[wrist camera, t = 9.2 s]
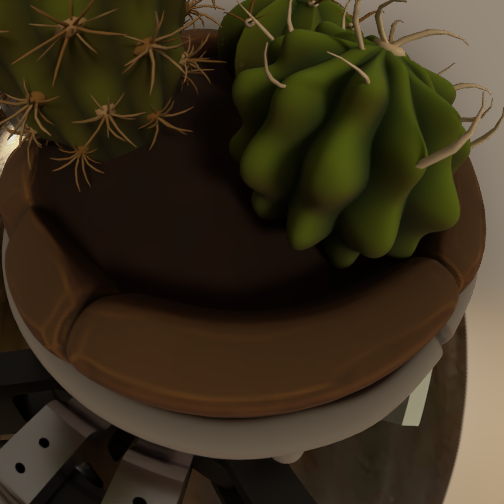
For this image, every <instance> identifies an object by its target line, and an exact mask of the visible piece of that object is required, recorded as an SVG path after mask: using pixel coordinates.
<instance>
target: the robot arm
mask: <svg viewBox="0 0 504 504" xmlns="http://www.w3.org/2000/svg"><path fill="white" fill-rule="evenodd" d="M0 92H1V91H0ZM1 95H2V94H1ZM1 95H0V96H1ZM3 97H4V96H3ZM3 97H2V98H3ZM2 98H1V100H2ZM4 101H5V99H4ZM6 101H9V97H7V99H6ZM11 102H15V103H17V102H16V100H14V99H11ZM7 105H8V104H7ZM0 106H1V108H2V109H3V111H4V113H5V114H6V116H7V117H10V116H11V115H13V114H15V113H16V112H17V111H18V110H20V107H19V105H17V106H13V107H14V109H15V111H16V112H15V111H14V110H13V108H12V106H11V105H8V107H9V108H8V107H7V106H6V104H3V103H1V105H0ZM21 113H22V112H20V113H19V114H18V115H17V116H15V117H13V118H11V119H10V122H11V124H12V126H13V127H14V128H15V127H16V126H17V124H18V123H19V121H18V119H19V120H21V119H22V117H23V114H22V115H21V116H19V115H20V114H21ZM18 116H19V117H18ZM17 117H18V119H17ZM24 120H25V119H24ZM24 120H23V122H24ZM23 122H22V124H23ZM22 124H21V125H20V126H19V127H18V129H17V130H16V131H18V132H19V131H21V130H22ZM25 126H28V125H27V123H26V125H25ZM28 133H29V132H28ZM28 133H25V134H23V136H25V135H27V134H28ZM48 390H49V391H48ZM35 392H36V393H35ZM5 434H15V435H14V436H13V437H12V438H11V439H10V440H1V441H0V504H182V503H183V499H184V495H185V492H186V488H187V485H188V482H189V478H190V475H191V472H192V469H193V468H194V469H195V470H196V471H198V472H199V473H201V474H202V475H204V476H205V477H207V478H208V479H210V480H211V483H212V485H213V487H214V489H215V491H216V493H217V495H218V497H219V498H220V500H221V502H222V504H317V503H316V502H315V500H314V499H313V498H312V496H311V495H310V494H309V492H308V491H307V490H306V488H305V487H304V486H303V484H302V483H301V482H300V480H299V479H298V477H297V476H296V475H295V473H294V472H293V470H292V469H291V468H290V466H289V465H288V464H284V463H280V462H278V461H276V460H274V459H273V458H272V457H270V458H262V459H244V460H233V459H218V458H210V457H204V456H199V455H194V454H189V453H185V452H180V451H177V450H173V449H170V448H167V447H164V446H161V445H158V444H155V443H152V442H149V441H147V440H144V439H142V438H140V437H137V436H135V435H133V434H131V433H129V432H127V431H125V430H122V429H120V428H118V427H116V426H115V425H113V424H111V423H109V422H108V421H106V420H105V419H103V418H101V417H100V416H98V415H97V414H95V413H94V412H92V411H91V410H89V409H88V408H86V407H85V406H84V405H83V404H81V403H80V402H79V401H78V400H77V399H75V398H74V397H73V396H72V395H71V394H70V393H69V392H67V391H66V390H65V389H64V388H63V387H62V386H61V385H60V384H59V383H58V382H57V381H56V380H55V378H54V377H53V376H52V375H51V374H50V373H49V372H48V371H47V370H46V368H45V367H44V366H43V365H42V363H41V362H40V361H39V359H38V358H37V357H36V355H35V354H34V352H33V351H32V349H27V350H19V351H11V352H3V353H0V435H5Z"/></svg>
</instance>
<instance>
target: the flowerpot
mask: <svg viewBox="0 0 504 504" xmlns="http://www.w3.org/2000/svg"><path fill="white" fill-rule="evenodd" d="M189 1H190V0H188V2H187V1H186V0H0V91H1V92H0V95H1V94H2V95H1V96H0V105H1V103H3V104H6V106H7V107H8V105H11V106H12V108H13V110H14V111H15V109H14V107H13V106H17V105H19V107H20V110H18V111H17V112H16V111H15V112H16V113H15V114H13V115H11V116H10V117H8V118H6V119H5V120H3V121H1V122H0V125H1V124H3V123H5V122H6V121H8V120H10V119H11V118H13V117H15V116H17V115H18V114H19V113H20V112H22V113H21V114H20V115H19V116H21V115H22V114H23V117H22V119H21V120H19V119H18V117H19V116H18V117H17V119H18V121H19V123H18V124H17V126H16V127H15V129H14V130H10V129H8V128H6V127H4V126H3V127H4V128H5V129H7V130H6V131H8V132H9V133H10V136H9V137H8V139H9V138H10V137H11V136H12V135H14V134H16V135H20V138H19V146H18V147H17V148H16V149H15V150H14V151H13V152H12V153H11V154H10V156H9V157H8V159H7V161H6V163H5V165H4V168H3V171H2V174H1V178H0V214H1V217H2V221H3V224H4V227H5V228H4V235H3V245H2V267H3V276H4V283H5V288H6V293H7V297H8V301H9V305H10V307H11V310H12V313H13V316H14V318H15V320H16V323H17V325H18V327H19V329H20V331H21V333H22V335H23V336H24V338H25V340H26V341H27V343H28V345H29V346H30V348H31V349H32V351H33V352H34V354H35V355H36V357H37V358H38V359H39V361H40V362H41V363H42V365H43V366H44V367H45V368H46V370H47V371H48V372H49V373H50V374H51V375H52V376H53V377H54V378H55V380H56V381H57V382H58V383H59V384H60V385H61V386H62V387H63V388H64V389H65V390H66V391H67V392H69V393H70V394H71V395H72V396H73V397H74V398H75V399H77V400H78V401H79V402H80V403H81V404H83V405H84V406H85V407H86V408H88V409H89V410H91V411H92V412H94V413H95V414H97V415H98V416H100V417H101V418H103V419H105V420H106V421H108V422H109V423H111V424H113V425H115V426H116V427H118V428H120V429H122V430H125V431H127V432H129V433H131V434H133V435H135V436H137V437H140V438H142V439H144V440H147V441H149V442H152V443H155V444H158V445H161V446H164V447H167V448H170V449H173V450H177V451H180V452H185V453H189V454H194V455H199V456H204V457H210V458H218V459H233V460H244V459H262V458H270V457H272V458H273V459H274V460H276V461H278V462H280V463H284V464H288V463H293V462H295V461H297V460H298V459H299V458H300V457H301V455H302V454H303V452H304V451H307V450H311V449H315V448H318V447H322V446H325V445H329V444H332V443H335V442H338V441H340V440H343V439H346V438H348V437H350V436H353V435H355V434H357V433H359V432H361V431H363V430H365V429H367V428H369V427H370V426H372V425H374V424H375V423H377V422H378V421H380V420H381V419H383V418H384V417H386V416H387V415H388V414H389V413H391V412H392V411H393V410H394V409H395V408H396V407H398V406H399V405H400V404H401V403H402V402H403V401H404V400H405V399H406V398H407V397H408V396H409V395H410V394H411V393H412V392H413V391H414V390H415V389H416V387H417V386H418V385H419V384H420V383H421V382H422V381H423V379H424V378H425V377H426V376H427V374H428V373H429V372H430V371H431V370H432V368H433V367H434V366H435V364H436V363H437V362H438V361H439V359H440V358H441V356H442V354H443V351H442V347H441V345H442V344H444V343H446V342H447V341H449V340H450V339H451V338H452V336H453V335H454V333H455V331H456V329H457V327H458V325H459V323H460V321H461V319H462V317H463V315H464V312H465V310H466V308H467V306H468V303H469V301H470V299H471V296H472V293H473V290H474V287H475V283H476V278H477V271H478V269H479V267H480V264H481V260H482V257H483V252H484V249H485V238H486V221H485V209H484V204H483V200H482V195H481V191H480V187H479V183H478V180H477V177H476V174H475V171H474V169H473V166H472V163H471V161H470V158H469V156H468V155H469V153H470V149H471V148H473V147H475V146H477V145H479V144H480V143H482V142H484V141H486V140H487V139H489V137H491V136H492V135H493V134H494V133H495V132H496V131H497V129H498V127H499V125H500V123H501V122H502V120H503V118H504V108H503V114H502V117H501V118H500V120H499V121H498V123H497V124H496V126H495V127H494V128H493V129H491V130H490V131H489V132H488V133H486V134H485V135H483V136H481V137H480V138H478V139H476V140H475V141H473V142H471V143H470V137H471V136H472V135H473V133H474V131H475V128H476V126H477V124H478V122H479V120H480V119H481V118H483V117H484V116H485V114H486V113H487V112H488V111H489V110H490V109H491V107H492V102H493V98H492V102H491V106H490V107H489V108H488V110H486V111H485V112H484V113H483V111H484V109H485V93H484V92H483V98H482V99H483V100H482V107H481V109H480V111H479V113H478V114H477V116H476V117H473V118H466V117H460V115H459V113H458V112H457V111H456V110H455V108H454V107H452V104H453V102H454V100H455V97H456V90H459V89H463V88H472V87H476V88H479V89H482V90H486V91H488V90H487V89H486V88H483V87H481V86H479V85H476V84H471V83H459V84H456V85H452V84H451V83H450V82H449V81H448V80H446V79H445V78H443V77H441V76H439V75H441V74H442V73H443V72H444V71H446V70H447V69H448V68H449V67H451V66H452V65H453V64H454V63H453V64H452V65H451V66H449V67H448V68H446V69H445V70H443V71H441V72H440V73H438V74H435V73H433V72H431V71H429V70H427V69H425V68H423V67H421V66H420V65H419V64H417V63H415V62H414V61H412V60H410V58H409V56H408V55H407V54H406V53H405V52H404V50H403V49H402V48H401V47H400V46H401V45H403V44H405V43H407V42H410V41H413V40H416V39H420V38H423V37H426V36H430V35H442V34H447V35H450V36H453V37H456V38H459V39H461V40H463V41H464V42H465V43H466V44H467V42H466V41H465V40H464V39H463V38H461V37H459V36H457V35H455V34H452V33H450V32H448V31H445V30H434V29H427V30H424V31H421V32H417V33H414V34H411V35H407V36H405V37H402V38H400V39H398V40H397V41H395V42H394V30H395V26H396V24H397V22H399V21H401V20H396V21H394V23H393V24H392V25H391V31H390V35H389V40H388V39H387V37H386V35H385V33H384V28H383V22H382V17H381V14H382V12H383V11H382V10H383V7H385V6H387V5H388V4H390V3H392V2H393V1H397V2H407V1H406V0H390V1H388V2H385V3H383V4H381V5H380V6H379V7H378V9H377V11H373V12H370V13H368V14H366V15H365V16H364V17H362V18H361V19H359V5H360V3H361V1H362V0H355V2H356V3H355V5H354V12H353V16H352V15H349V14H348V13H347V12H346V10H347V6H348V4H349V2H350V0H349V1H348V3H347V4H346V7H345V8H344V7H343V6H342V5H341V4H339V3H338V2H336V1H334V0H246V1H244V2H242V3H239V2H238V1H237V2H238V5H237V6H235V7H234V8H233V9H232V10H231V11H230V12H229V13H227V12H224V13H227V15H226V16H224V18H223V20H222V22H221V24H219V23H218V22H217V21H216V20H215V19H213V18H211V17H210V16H208V15H206V14H204V13H200V12H198V11H196V10H192V9H196V8H201V7H213V8H215V9H216V8H219V9H223V8H221V7H218V6H215V1H214V0H212V3H213V5H214V6H211V5H199V6H196V4H197V3H199V2H201V1H202V0H198V1H196V0H192V2H191V3H190V4H189ZM194 1H195V3H193V2H194ZM192 3H193V4H192ZM336 3H337V4H336ZM338 4H339V5H340V6H339V5H338ZM343 8H344V9H345V10H344V9H343ZM223 10H225V9H223ZM189 13H191V14H194V15H197V16H198V18H196V19H194V20H193V18H192V16H191V15H190V14H189ZM374 13H376V14H375V20H376V24H377V28H378V33H379V35H380V37H381V38H378V37H376V36H374V35H370V36H367V37H365V38H364V36H363V33H362V31H361V30H360V26H359V23H360V22H361V21H363V20H364V19H366V18H367V17H369V16H370V15H372V14H374ZM187 15H189V16H190V17H191V19H192V21H191V22H190V23H188V24H187V25H185V26H183V25H184V24H185V23H186V22H187V21H188V20H187V21H186V22H184V21H185V17H186V16H187ZM199 15H201V16H202V15H204V16H206V17H207V18H209V19H211V20H212V21H214V22H215V23H217V24H218V25H219V26H220V27H219V29H218V30H214V29H195V24H194V22H195V21H196V20H198V19H200V20H201V21H202V24H203V26H204V21H203V20H202V19H201V16H199ZM401 22H403V21H401ZM192 24H193V25H194V29H191V30H184V29H185V28H187V27H188V26H190V25H192ZM182 30H183V31H182ZM467 45H468V44H467ZM468 46H469V45H468ZM488 93H489V94H490V95H491V93H490V92H489V91H488ZM3 96H4V97H3ZM2 97H3V98H2ZM7 97H9V101H6V99H7ZM1 98H2V100H1ZM4 99H5V101H4ZM11 99H14V100H16V102H17V103H15V102H11ZM7 104H8V105H7ZM8 108H9V107H8ZM482 113H483V114H482ZM24 119H25V120H24ZM23 120H24V122H23ZM22 122H23V124H22ZM462 122H473V123H472V124H471V126H470V128H469V129H468V131H467V132H466V130H465V129H464V128H463V126H462ZM26 123H27V125H28V126H25V125H26ZM21 124H22V130H21V131H19V132H18V131H16V130H17V129H18V127H19V126H20V125H21ZM28 132H29V133H28ZM25 133H28V134H27V136H26V137H25V138H24V139H23V141H22V142H21V140H22V136H23V134H25ZM27 138H28V140H27V141H26V139H27ZM8 139H7V140H8ZM25 141H26V142H25Z"/></svg>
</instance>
